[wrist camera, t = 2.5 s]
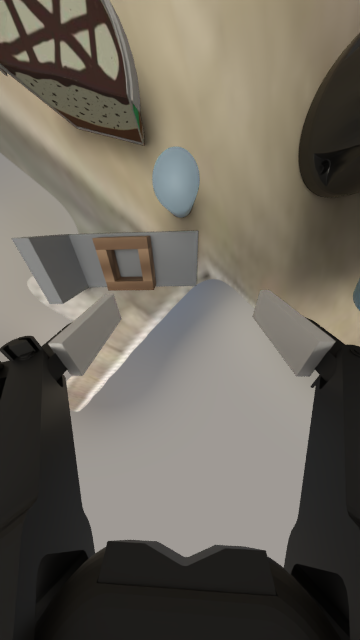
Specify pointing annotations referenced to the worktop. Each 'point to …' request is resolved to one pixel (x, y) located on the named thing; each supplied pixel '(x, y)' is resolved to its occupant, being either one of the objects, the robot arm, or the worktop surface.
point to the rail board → (84, 267)
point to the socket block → (110, 266)
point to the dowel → (176, 180)
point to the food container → (74, 62)
